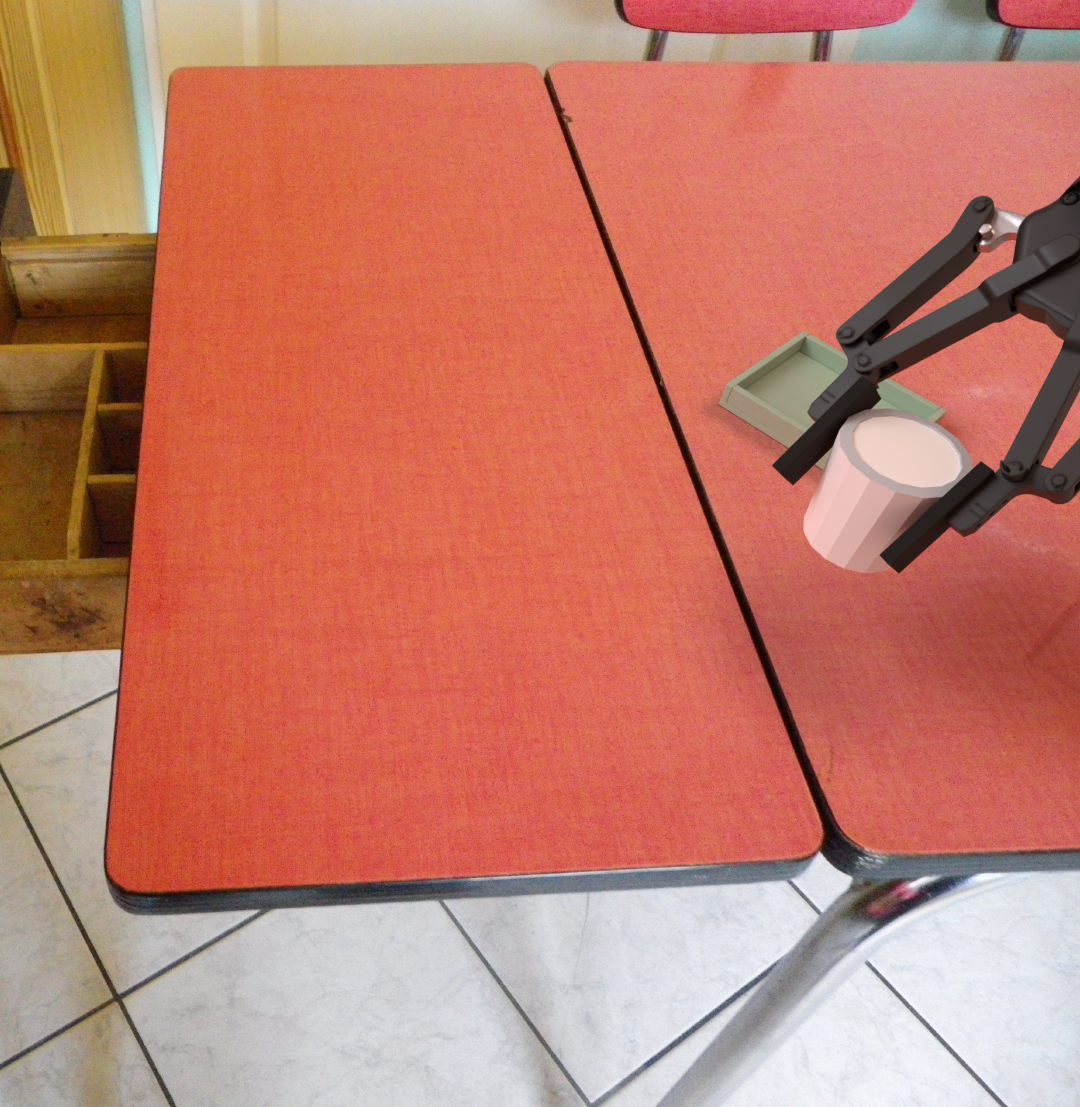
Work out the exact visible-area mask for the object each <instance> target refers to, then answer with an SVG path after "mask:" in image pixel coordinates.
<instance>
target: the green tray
mask: <svg viewBox="0 0 1080 1107" xmlns="http://www.w3.org/2000/svg"><path fill="white" fill-rule="evenodd" d="M847 364H848V358H847V356H846V354H845V353H844V351H842V350H839V349H838V348H836V347H834V346H832V345H831V344H829V343H827V342H825V341H823V340H822V339H820V338H818V337H816V336H814V335H813V334H810V333H809V332H807V331H805V330H802V331H801V332H799V333H798V334H797V335H795V336H794V337H793V338H791V339H789V340H788V341H787V342H785V343H784V344H782V345H781V346H779V347H778V348H776V349H775V350H773V351H772V352H771V353H769V354H767V355H766V356H765V357H764V358H762V359H760V360H759V361H758V362H756V363H755V364H753V365H751V367H749V368H747V369H746V370H745V371H743V372H741V373H740V374H739V375H738V376H735V377H734V378H733V379H731V380H730V381H728V382H727V383H726V384H725V387H724V390H723V392H722V394H721V396H720V399H719V402H718V405H719V406H720V407H722V408H723V409H725V410H727V411H728V412H731V414H733V415H735V416H737V417H738V418H740V420H741V419H742V420H743V421H745V422H746V423H748V424H749V425H751V426H752V427H754V428H756V429H757V430H759V431H760V432H762V433H763V434H765V435H766V436H768V437H770V438H771V439H773V440H774V441H776V442H778V443H780V444H781V445H783V446H784V447H786V448H787V449H789V448H790V447H791V446H792V445H793V444H794V443H795V442H796V441H797V440H798V439H799V438H800V437H801V436H802V435H803V434H804V433H805V432H806V431H807V430H808V429H809V428H810V427H811V426H812V425H813V424H814V423H815V421H813V420H812V418H811V417H810V416H809V414H808V413H807V412H808V410H809V408H810V405H811V403H812V402H813V401H814V400H815V399H816V398H817V397H818V396H820V394H821V393H822V392H823V391H825V390H826V388H827V387H828V386H829V385H830V384H831V383H832V382H833V381H834V380H835V379H836V378H837V377H838V376H839V375H840V374H841V373H842V372H843V371H844V370H845V369H846V367H847ZM877 385H878V386H879V389H876V390H877V391H878V393H879V395H880V397H881V400H880V401H879V402H878V403H877V404H876V405H875V406H874V407H873V408H872V409H888V408H889V409H894V410H899V411H904V412H909V413H914V414H916V415H919V416H921V417H923V418H926V419H928V420H930V421H932V422H935V423H937V424H939V425H941V424H940V423H941V422H942V420H943V419H944V418H945V416H946V414H947V413H948V410H947V409H945V408H943V407H941V406H940V405H938V404H936V403H935V402H933V401H930V400H929V399H927V398H926V397H924V396H922V395H921V394H918V393H916V392H914V391H913V390H911V389H909V388H907V387H906V386H904V385H902V384H900V383H899V382H897V381H895V380H893V379H892V378H891V377H890V378H888V379H886V380H884V381H882V382H880V383H878V384H877ZM831 450H832V448H831V449H830V450H829V451H828V452H827V453H826V454H825V455H824V456H823V457H822V458H821V459H820V460H819V461H818V462H817V463H816V464H815V465H814V466H816V467H818V468H819V469H821V470H822V471H823V470H824V467H825V465H826V462H827V460H828V457H829V455H830V452H831Z"/></svg>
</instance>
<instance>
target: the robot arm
mask: <svg viewBox="0 0 1080 1107" xmlns="http://www.w3.org/2000/svg"><path fill="white" fill-rule="evenodd" d="M1008 241H1015V243H1014V244H1015V245H1014V251H1013V256H1012V263H1011V264H1010V265H1008V266H1007V267H1005V268H1002V269H1001V270H999V271H997V272H995V273H994V274H992V275H990V276H988V277H986V278H984V280H983V281H982V282H981V283H980V284H979V285H978V286H977V287H976V288H974V289H972V290H970V291H969V292H966V293H965V294H963V295H961V296H959V297H957V298H956V299H954V300H952V301H950V302H948V303H946V304H945V305H943V306H941V307H939V308H937V309H935V310H933V311H932V312H930V313H928V314H926V315H925V316H922V317H921V318H919V319H917V320H915V321H913V322H912V323H910V324H908V325H906V326H905V327H903V328H900V329H899V330H897V331H895V332H893V331H894V330H896V329H897V328H898V327H899V326H900V325H901V324H902V323H904V322H905V321H907V319H908V318H910V317H911V316H912V315H914V314H915V313H916V312H917V311H919V309H921V307H923V306H924V305H925V304H927V303H928V302H929V301H931V299H933V298H934V297H935V296H936V295H938V293H940V292H941V291H942V290H944V289H945V288H947V287H948V285H949V284H951V283H952V282H953V281H955V279H957V278H958V277H959V276H960V275H962V274H963V273H964V272H965V271H966V270H967V269H968V268H969V267H970V266H972V265H973V263H974V262H975V261H977V259H978V258H979V256H980V255H981V254H982V253H983V254H984V253H985V254H989V253H992V252H993V251H995V250H997V249H998V248H999V247H1000V246H1001V245H1003V243H1005V242H1008ZM1017 315H1021V316H1023V317H1025V318H1026V319H1028V320H1030V321H1033V322H1037V323H1040V324H1043V325H1046V326H1047V327H1048V328H1049V330H1051V331H1052V333H1053V334H1054V335H1055V336H1056V337H1058V338H1059V339H1061V340H1062V345H1061V348H1060V350H1059V353H1058V354H1057V356H1056V358H1055V360H1054V362H1053V364H1052V366H1051V368H1050V370H1049V372H1048V373H1047V376H1046V378H1045V380H1044V382H1043V384H1042V385H1041V387H1040V389H1039V391H1038V393H1037V395H1036V397H1035V399H1034V401H1033V403H1032V405H1031V407H1030V409H1029V410H1028V412H1027V414H1026V416H1025V419H1024V420H1023V421H1022V424H1021V426H1020V428H1019V429H1018V431H1017V433H1016V435H1015V437H1014V439H1013V441H1012V444H1011V445H1010V447H1009V449H1008V451H1007V453H1006V455H1005V457H1004V458H1003V460H1001V459H1000V461H999V468H998V469H997V470H996V471H995V469H993V468H992V467H990V466H989V465H987V464H985V462H983V461H979V462H977V464H976V465H975V466H973V469H972V470H971V471H970V472H969V473H967V474H966V475H965V476H964V477H963V478H962V479H961V480H960V481H959V482H958V483H957V484H956V485H954V486H953V487H952V488H951V489H950V490H949V491H948V492H947V493H946V494H945V495H944V496H943V497H941V498H940V499H939V500H938V501H937V502H936V503H935V504H934V505H933V506H932V507H931V508H930V509H928V510H927V511H926V512H925V513H924V514H923V515H922V516H921V517H920V518H919V519H918V520H917V521H915V522H914V523H913V524H912V525H911V526H910V527H909V528H908V529H907V530H906V531H905V532H904V533H902V534H901V535H900V536H899V537H898V538H897V539H896V540H895V541H894V542H893V543H892V544H891V545H889V546H888V547H887V548H886V549H885V550H884V551H883V552H882V553H881V554H880V556H881V558H882V559H883V560H884V561H885V562H886V563H887V564H888V565H889V566H890V567H891V568H890V569H892V570H894V571H895V572H896V573H898V574H901V573H902V572H903V571H904V570H905V569H906V568H908V567H909V565H910V564H912V563H913V562H914V561H915V560H916V559H917V558H918V557H920V556H921V555H922V554H923V553H924V552H925V551H926V550H928V549H929V547H931V545H932V544H934V543H935V542H936V541H937V540H938V539H939V538H940V537H941V536H942V535H943V534H944V533H946V532H947V531H948V530H949V529H950V528H951V529H952V530H953V531H955V532H957V534H959V535H960V536H961V537H962V538H966V537H969V536H971V535H974V534H975V533H977V532H978V531H979V530H980V529H981V528H982V527H983V526H985V525H986V524H987V523H988V522H989V521H990V520H991V519H992V518H993V517H995V515H997V514H998V513H999V512H1000V511H1001V510H1003V508H1004V507H1005V506H1007V505H1008V504H1009V503H1010V502H1011V501H1012V500H1014V499H1015V498H1016V497H1019V496H1022V495H1032V496H1035V497H1038V498H1042V499H1044V500H1048V501H1049V502H1050V503H1052V504H1055V505H1065V504H1068V503H1070V502H1071V501H1072V500H1073V499H1074V498H1075V497H1076V496H1077V495H1078V493H1080V437H1078V438H1077V440H1076V441H1075V442H1074V443H1073V444H1072V445H1071V446H1070V448H1069V449H1068V450H1066V452H1065V453H1064V454H1063V455H1062V457H1061V458H1060V459H1059V460H1058V461H1057V462H1056V463H1055V465H1053V467H1048V466H1045V465H1042V464H1043V462H1044V461H1045V458H1046V457H1047V455H1048V453H1049V451H1050V449H1051V447H1052V445H1053V444H1054V441H1055V439H1056V437H1057V436H1058V433H1059V432H1060V429H1061V428H1062V426H1063V424H1064V422H1065V420H1066V418H1067V416H1068V414H1069V412H1070V411H1071V409H1072V406H1073V405H1074V403H1075V402H1076V399H1077V398H1078V395H1079V393H1080V175H1079V176H1078V177H1077V178H1075V180H1074V181H1073V182H1072V183H1071V184H1070V185H1069V186H1068V187H1067V188H1066V190H1065V191H1064V192H1063V193H1062V194H1061V195H1060V196H1059V197H1058V198H1056V199H1055V200H1054V201H1052V202H1051V203H1049V204H1047V205H1045V206H1043V207H1041V208H1038V209H1036V210H1033V211H1032V212H1030V213H1029V214H1028V215H1026V214H1025V215H1024V214H1021V213H1017V212H1013V211H1010V210H1006V209H1003V208H998V207H996V206H995V202H994V200H993V198H992V197H989V196H988V195H979V196H976V197H974V198H972V200H970V201H969V202H968V204H967V205H966V207H965V209H964V210H963V212H962V213H961V215H960V216H959V218H958V219H957V221H956V222H955V224H954V226H953V227H952V228H951V230H950V232H949V233H948V234H947V235H945V236H943V238H942V239H941V240H940V241H938V242H937V243H935V245H933V247H932V248H930V249H929V250H928V251H927V252H925V253H924V254H923V255H922V256H920V258H919V259H917V260H916V261H915V262H914V263H913V264H911V265H910V266H909V267H907V268H906V270H904V271H903V272H902V273H901V274H899V276H897V277H896V278H895V279H894V280H892V282H889V283H888V284H887V285H886V286H885V287H884V288H883V289H882V290H881V291H879V292H878V293H877V294H876V295H875V296H874V297H873V298H872V299H870V300H869V301H867V303H865V304H864V305H863V306H862V307H861V308H860V309H858V310H857V311H856V312H855V313H854V314H852V315H851V316H850V317H849V318H848V319H847V320H846V321H845V322H843V323H842V324H841V325H840V326H839V327H838V328H837V329H836V332H835V339H836V340H837V343H838V344H839V346H840V348H841V349H842V352H843V353H845V354H846V356H847V358H848V364H847V367H846V369H845V370H844V371H843V372H842V373H841V374H840V375H839V376H838V377H837V378H836V379H835V380H834V381H833V382H832V383H831V384H830V385H829V386H828V387H827V388H826V390H825V391H823V392H822V393H821V394H820V396H818V397H817V398H816V399H815V400H814V401H813V402H812V403H811V405H810V408H809V410H808V412H807V413H808V414H809V416H810V417H811V418H812V420H813V421H815V423H814V424H813V425H812V426H811V427H810V428H809V429H808V430H807V431H806V432H805V433H804V434H803V435H802V436H801V437H800V438H799V439H798V440H797V441H796V442H795V443H794V444H793V445H792V446H791V447H790V448H787V450H786V451H784V453H782V454H781V456H779V457H778V458H777V459H776V460H775V461H774V462H773V463H772V465H771V467H773V468H774V470H775V471H777V473H778V474H779V475H780V476H781V477H782V478H783V479H784V480H786V481H787V482H789V484H790V485H792V486H795V484H797V483H798V482H799V480H801V479H802V478H803V477H804V476H805V475H806V474H807V473H808V472H809V471H810V470H811V469H812V468H813V467H815V466H816V465H815V464H816V463H817V462H818V461H819V460H820V459H821V458H822V457H823V456H824V455H825V454H826V453H827V452H828V451H829V450H830V449H831V448H832V447H833V445H834V442H835V440H836V437H837V435H838V432H839V430H840V429H841V427H842V426H843V424H844V423H845V422H846V420H847V419H848V417H850V416H852V415H855V414H857V413H859V412H862V411H864V410H869V409H872V408H873V407H874V406H875V405H876V404H877V403H878V402H879V401H880V400H881V397H880V395H879V393H878V391H877V390H876V389H879V386H878V385H877V384H878V383H880V382H882V381H884V380H886V379H888V378H890V379H891V377H893V376H896V375H897V374H899V373H901V372H903V371H905V370H907V369H909V368H910V367H912V366H915V365H917V364H918V363H920V362H922V361H925V359H928V358H930V357H931V356H933V355H935V354H937V353H939V352H942V351H943V350H945V349H946V348H948V347H950V346H953V345H954V344H956V343H958V342H960V341H962V340H964V339H966V338H968V337H970V336H971V335H973V334H976V333H977V332H979V331H980V330H983V329H985V328H987V327H988V326H991V325H992V324H999V323H1000V324H1001V323H1002V322H1003V323H1004V322H1005V321H1007V320H1009V319H1011V318H1013V317H1015V316H1017ZM891 332H892V334H891ZM889 334H890V335H889Z"/></svg>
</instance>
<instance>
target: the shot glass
mask: <svg viewBox="0 0 1080 1107" xmlns="http://www.w3.org/2000/svg"><path fill="white" fill-rule="evenodd" d="M972 460H973V459H972V456H971V454H970V453H969V452H968V450H967V449H966V447H965V446H964V445H963V443H962V442H961V441H960V439H959V438H957V437H956V436H955V435H953V434H952V433H951V432H950V431H949V430H947V429H946V428H944V427H943V426H942V425H941V424H937V423H935V422H932V421H930V420H928V419H926V418H923V417H921V416H919V415H916V414H914V413H909V412H904V411H899V410H894V409H889V408H888V409H869V410H864V411H862V412H859V413H857V414H855V415H852V416H850V417H848V419H847V420H846V422H845V423H844V424H843V426H842V427H841V429H840V430H839V432H838V435H837V437H836V440H835V442H834V445H833V447H832V450H831V452H830V455H829V457H828V460H827V462H826V465H825V467H824V470H822V472H821V475H820V477H819V480H818V481H817V484H816V487H815V489H814V492H813V494H812V497H811V499H810V502H809V504H808V507H807V510H806V511H805V514H804V516H803V534H804V535H805V538H806V539H807V541H808V544H809V545H810V546H811V547H812V549H814V550H815V551H816V552H817V553H818V554H819V555H820V556H821V557H822V558H824V559H825V560H826V561H828V562H830V563H832V564H834V565H836V566H838V567H839V568H842V569H844V570H849V571H853V572H856V573H861V574H872V573H873V574H875V573H883V572H885V571H887V570H889V569H892V568H891V567H890V566H889V565H888V564H887V563H886V562H885V561H884V560H883V559H882V558H881V556H880V554H881V553H882V552H883V551H884V550H885V549H886V548H887V547H888V546H889V545H891V544H892V543H893V542H894V541H895V540H896V539H897V538H898V537H899V536H900V535H901V534H902V533H904V532H905V531H906V530H907V529H908V528H909V527H910V526H911V525H912V524H913V523H914V522H915V521H917V520H918V519H919V518H920V517H921V516H922V515H923V514H924V513H925V512H926V511H927V510H928V509H930V508H931V507H932V506H933V505H934V504H935V503H936V502H937V501H938V500H939V499H940V498H941V497H943V496H944V495H945V494H946V493H947V492H948V491H949V490H950V489H951V488H952V487H953V486H954V485H956V484H957V483H958V482H959V481H960V480H961V479H962V478H963V477H964V476H965V475H966V474H967V473H969V472H970V471H971V470H972V469H973V468H974V465H973V461H972Z"/></svg>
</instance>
